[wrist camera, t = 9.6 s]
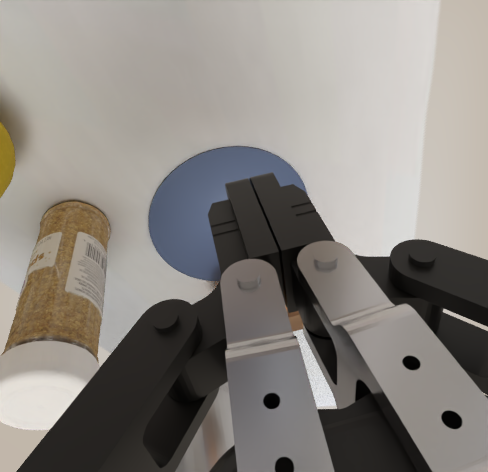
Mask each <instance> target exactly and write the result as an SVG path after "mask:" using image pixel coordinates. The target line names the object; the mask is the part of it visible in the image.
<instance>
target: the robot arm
mask: <svg viewBox="0 0 488 472" xmlns="http://www.w3.org/2000/svg"><path fill="white" fill-rule="evenodd" d="M225 188H226V193H227V198H228V200H224V201H220V202H215V203H212V205H211V207H210V210H209V212H208V218H209V223H210V227H211V232H212V236H213V240H214V245H215V249H216V253H217V258H218V262H219V266H220V271H221V278H220V281H219V283H218V285H217V287H216V288H215V290H214V291H213V292H212V293H211V294H209V295H208V296H207V297H205V298H204V299H202V300H200V301H198V302H197V303H195V304H193V305H191V304H190V303H188V302H186V301H184V300H179V299H171V300H165V301H162V302H159V303H157V304H155V305H153V306H152V307H150V308H149V309H148V310H147V311H146V312H145V313H144V314H143V315H142V316H141V318H140V319H139V320H138V321H137V322H136V324H135V325H134V326H133V327H132V329H131V330H130V331H129V332H128V334H127V335H126V336H125V337H124V339H123V340H122V341H121V342H120V344H119V345H118V346H117V347H116V349H115V350H114V351H113V352H112V353H111V355H110V356H109V357H108V358H107V360H106V361H105V362H104V363H103V365H102V366H101V367H100V368H99V370H98V371H97V372H96V373H95V375H94V376H93V377H92V378H91V380H90V381H89V382H88V383H87V385H86V386H85V387H84V388H83V389H82V391H81V392H80V393H79V394H78V396H77V397H76V398H75V399H74V401H73V402H72V403H71V404H70V406H69V407H68V408H67V409H66V411H65V412H64V413H63V414H62V416H61V417H60V418H59V419H58V421H57V422H56V423H55V424H54V425H53V427H52V428H51V429H50V430H49V432H48V433H47V434H46V436H45V437H44V438H43V439H42V440H41V442H40V443H39V444H38V445H37V447H36V448H35V449H34V450H33V452H32V453H31V454H30V455H29V457H28V458H27V459H26V460H25V461H24V463H23V464H22V465H21V466H20V468H19V469H18V470H17V472H488V396H486V395H484V394H483V393H485V394H487V395H488V331H486V330H483V329H481V328H479V327H476V326H474V325H472V324H469V323H467V322H464V321H462V320H460V319H457V318H455V317H453V316H450V315H448V314H446V313H443V308H444V309H447V310H449V311H451V312H454V313H456V314H459V315H461V316H463V317H466V318H468V319H471V320H473V321H475V322H478V323H480V324H483V325H485V326H487V327H488V260H486V259H482V258H480V257H477V256H473V255H471V254H467V253H465V252H461V251H458V250H455V249H453V248H449V247H447V246H444V245H441V244H438V243H434V242H431V241H427V240H408V241H404V242H402V243H399V244H398V245H396V246H395V247H394V248H393V250H392V251H391V255H390V257H364V256H358V255H354V254H353V252H352V251H351V250H350V249H349V248H348V247H346V246H345V245H343V244H341V243H338V242H335V240H334V239H333V237H332V235H331V234H330V232H329V230H328V229H327V227H326V225H325V224H324V222H323V220H322V219H321V217H320V215H319V214H318V212H316V209H315V207H314V206H313V204H312V203H311V201H310V199H309V197H308V196H307V194H306V192H305V191H304V190H302V189H300V188H299V187H297V186H295V185H294V184H291V185H287V186H282V187H281V186H280V184H279V183H278V181H277V179H276V177H275V175H274V173H273V172H271V173H267V174H263V175H258V176H254V177H250V178H249V179H248V178H246V179H242V180H238V181H233V182H229V183H225ZM285 305H286V306H285ZM286 307H287V309H286ZM287 310H288V313H291V312H295V311H298V312H299V314H300V316H301V319H302V326H303V334H304V336H305V338H306V340H307V342H308V344H309V346H310V348H311V350H312V352H313V354H314V356H315V358H316V360H317V362H318V364H319V367H320V369H321V371H322V373H323V375H324V377H325V379H326V381H327V383H328V385H329V387H330V389H331V391H332V393H333V396H334V398H335V401H336V405H337V409H317V407H316V403H315V400H314V396H313V392H312V389H311V385H310V382H309V378H308V375H307V371H306V367H305V364H304V360H303V357H302V353H301V349H300V346H299V343H298V340H297V337H296V336H294V335H293V331H292V328H291V324H290V320H289V317H288V313H287ZM482 392H483V393H482Z"/></svg>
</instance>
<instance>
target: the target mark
mask: <svg viewBox="0 0 488 472" xmlns="http://www.w3.org/2000/svg"><path fill="white" fill-rule="evenodd" d="M271 172H273V173H274V175H275V177H276V179H277V181H278V183H279V184H280V186H281V187H282V186H287V185H291V184H294V185H295V186H297V187H299V188H300V189H302V190H304V191H305V192H306V194H307V191H306V189H305V186H304V184H303V182H302V180H301V178H300V176H299V175H298V174H297V172H296V171H295V170H294V169H293V168H292V167H291V166H290V165H289V164H288V163H287V162H286V161H284V160H283V159H281V158H280V157H278V156H276V155H274V154H272V153H270V152H267V151H264V150H260V149H256V148H251V147H237V146H235V147H224V148H219V149H214V150H210V151H207V152H204V153H201V154H199V155H197V156H195V157H193V158H191V159H189V160H187V161H186V162H184V163H183V164H181V165H180V166H178V167H177V168H176V169H175V170H174V171H172V172H171V173H170V174H169V175H168V177H167V178H166V179H165V180H164V181H163V182H162V184H161V185H160V187H159V188H158V190H157V192H156V194H155V196H154V198H153V201H152V204H151V207H150V212H149V230H150V236H151V239H152V242H153V244H154V246H155V248H156V250H157V252H158V253H159V254H160V256H161V257H162V258H163V259H164V260H165V261H166V262H167V263H168V264H169V265H170V266H172V267H173V268H175V269H176V270H178V271H180V272H181V273H183V274H186V275H188V276H191V277H194V278H198V279H202V280H208V281H220V278H221V271H220V266H219V262H218V258H217V253H216V249H215V245H214V240H213V236H212V232H211V227H210V223H209V218H208V212H209V210H210V207H211V205H212V203H215V202H220V201H224V200H228V198H227V193H226V188H225V183H229V182H233V181H238V180H242V179H246V178H248V179H249V178H250V177H254V176H258V175H263V174H267V173H271Z"/></svg>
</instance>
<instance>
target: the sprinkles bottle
mask: <svg viewBox="0 0 488 472" xmlns="http://www.w3.org/2000/svg"><path fill="white" fill-rule="evenodd" d="M109 238H110V225H109V222H108V221H107V218H106V217H105V216H104V215H103V214H102V213H101V211H99V210H98V209H96V208H95V207H93V206H91V205H88V204H85V203H81V202H76V201H73V202H64V203H61V204H59V205H56V206H54V207H52V208H51V209H49V210H48V211H47V212H46V213H45V215H44V216H43V218H42V220H41V222H40V233H39V236H38V240H37V243H36V246H35V248H34V250H33V253H32V256H31V260H30V263H29V267H28V271H27V274H26V277H25V280H24V284H23V287H22V290H21V293H20V297H19V300H18V303H17V308H16V314H15V317H14V320H13V324H12V327H11V330H10V334H9V337H8V341H7V343H6V346H5V350H4V352H3V353H2V355H1V356H0V422H1V423H3V424H5V425H8V426H11V427H15V428H19V429H25V430H48V429H51V428H52V427H53V425H54V424H55V423H56V422H57V421H58V419H59V418H60V417H61V416H62V414H63V413H64V412H65V411H66V409H67V408H68V407H69V406H70V404H71V403H72V402H73V401H74V399H75V398H76V397H77V396H78V394H79V393H80V392H81V391H82V389H83V388H84V387H85V386H86V385H87V383H88V382H89V381H90V380H91V378H92V377H93V376H94V375H95V373H96V372H97V371H98V370H99V368H100V367H99V364H98V357H97V354H98V343H99V333H100V326H101V322H102V314H103V303H104V292H105V279H106V267H107V255H106V253H107V242H108V240H109Z"/></svg>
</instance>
